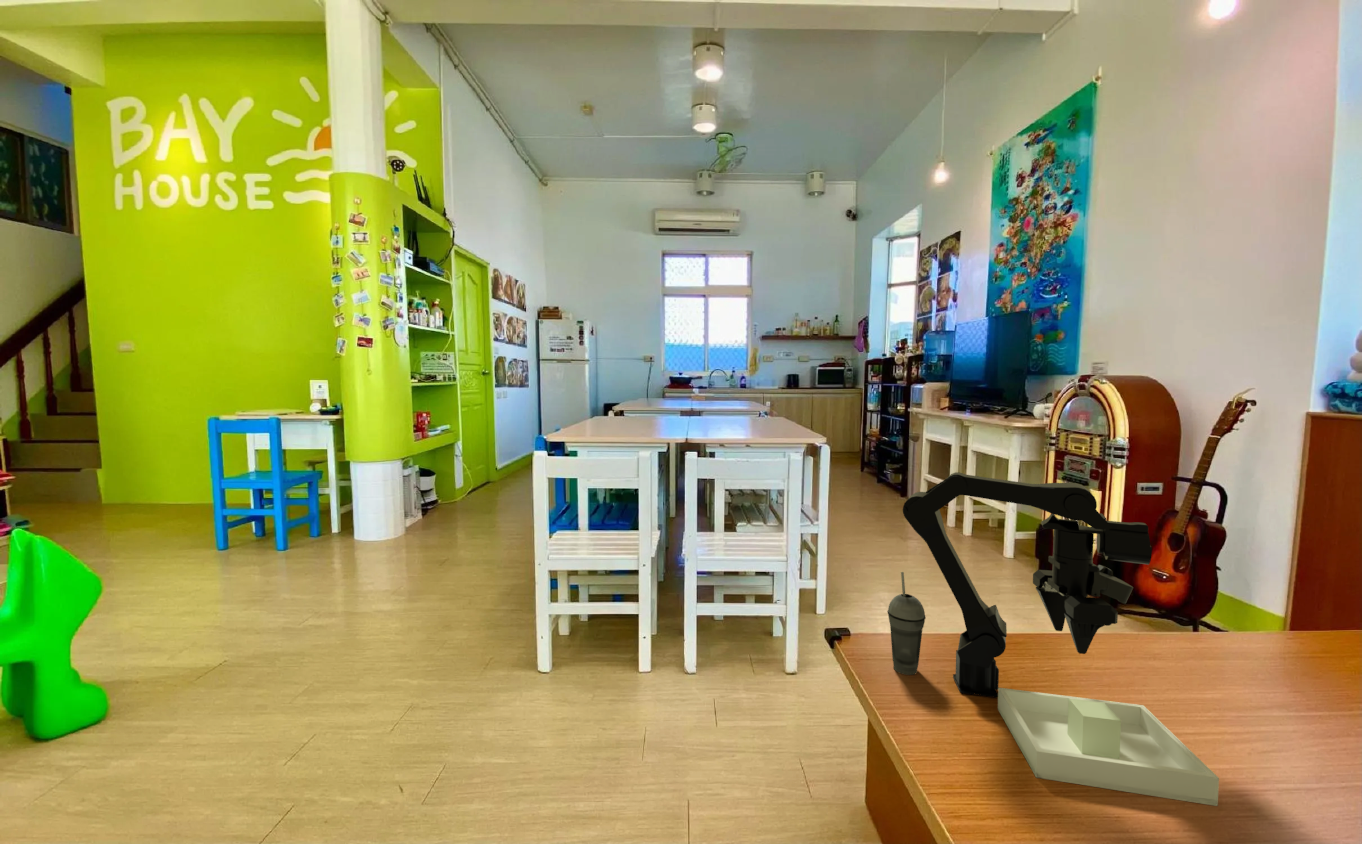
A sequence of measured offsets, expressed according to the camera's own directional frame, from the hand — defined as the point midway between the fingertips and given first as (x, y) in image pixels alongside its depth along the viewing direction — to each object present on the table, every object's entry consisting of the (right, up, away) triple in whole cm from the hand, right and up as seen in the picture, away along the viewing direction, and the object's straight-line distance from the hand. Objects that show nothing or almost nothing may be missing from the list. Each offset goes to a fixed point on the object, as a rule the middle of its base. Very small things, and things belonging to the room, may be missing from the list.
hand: (1069, 641), depth 96 cm
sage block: (-4, -12, -11) cm, 17 cm away
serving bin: (-4, -13, -11) cm, 17 cm away
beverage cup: (-23, -12, +15) cm, 30 cm away
